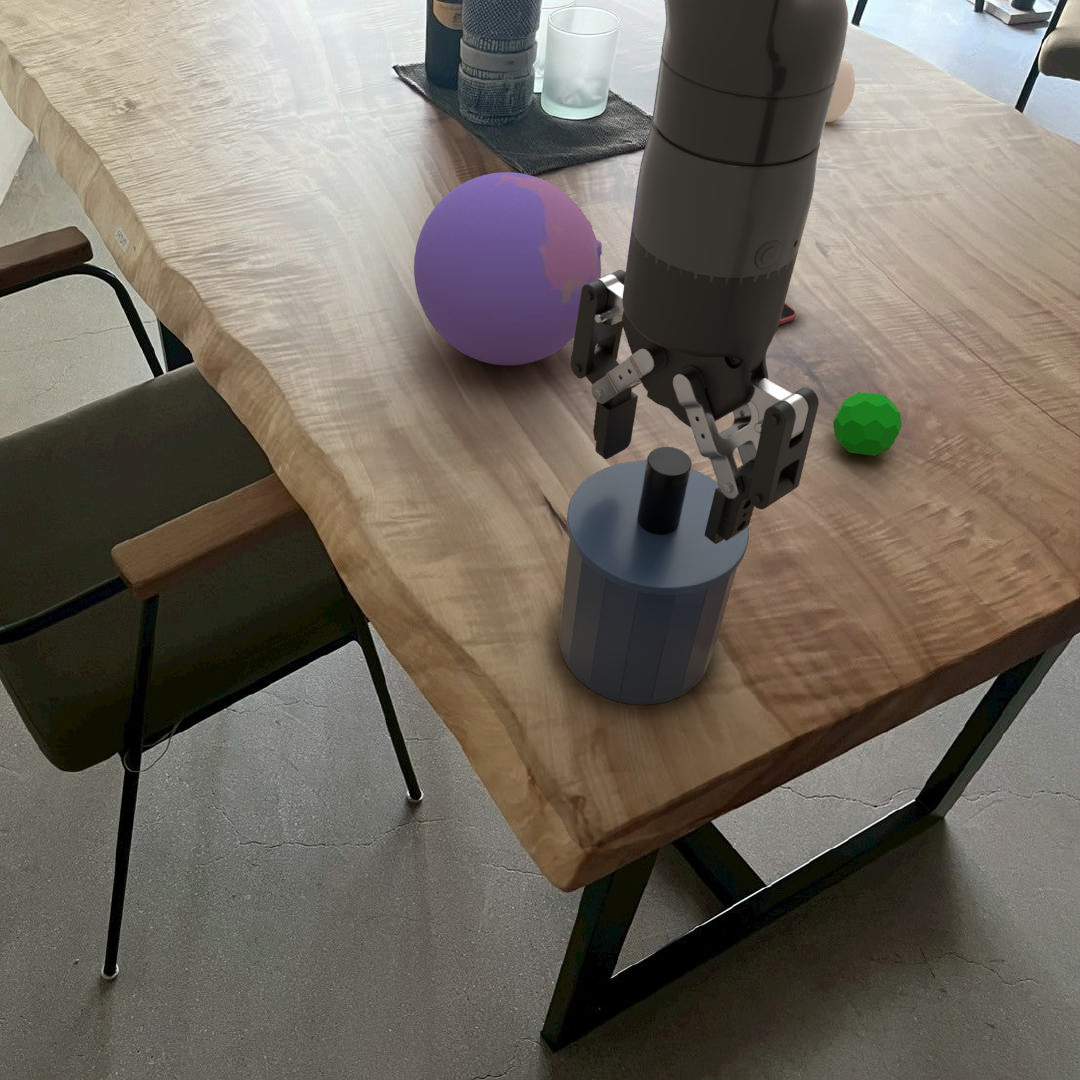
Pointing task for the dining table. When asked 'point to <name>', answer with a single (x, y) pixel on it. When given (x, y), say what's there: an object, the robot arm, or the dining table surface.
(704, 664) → the pot
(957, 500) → the dining table surface
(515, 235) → the decorative ball
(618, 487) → the pot lid
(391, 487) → the dining table surface
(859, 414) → the polyhedron
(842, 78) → the egg
